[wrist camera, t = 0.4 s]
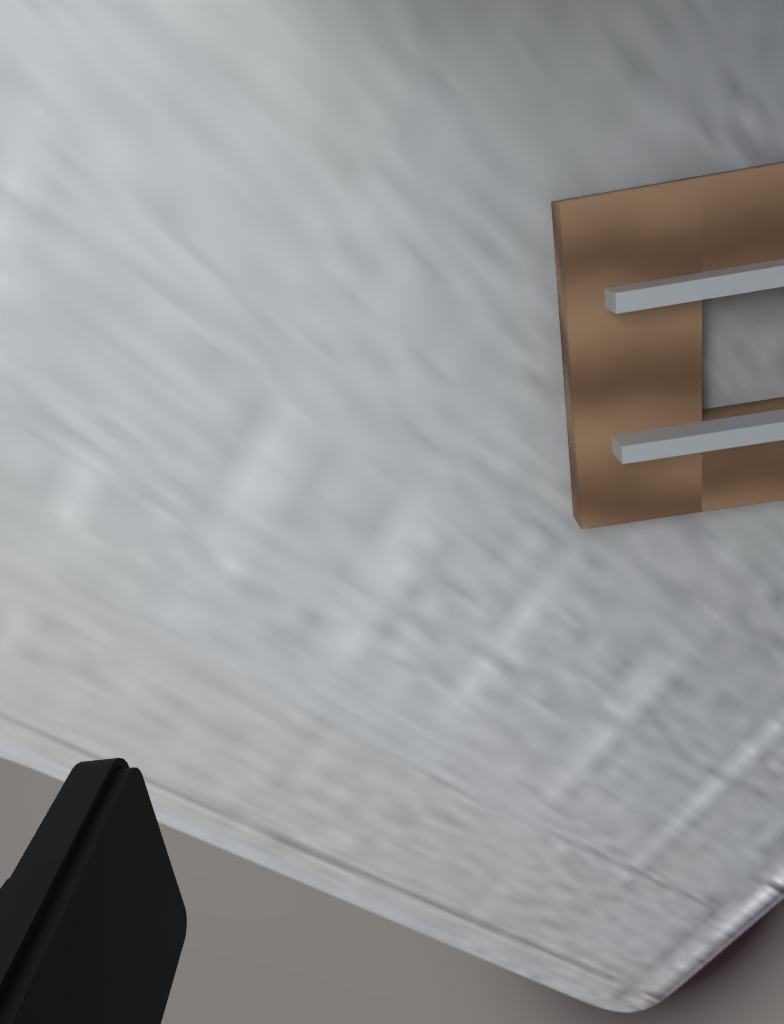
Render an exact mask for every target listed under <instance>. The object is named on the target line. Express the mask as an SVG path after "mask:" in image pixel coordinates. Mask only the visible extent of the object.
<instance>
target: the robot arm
mask: <svg viewBox="0 0 784 1024" xmlns="http://www.w3.org/2000/svg"><path fill="white" fill-rule="evenodd" d="M186 927H187V917H186V910H185V906H184V903H183V900H182V897H181V894H180V890H179V887H178V884H177V881H176V878H175V875H174V872H173V869H172V866H171V862H170V859H169V856H168V853H167V850H166V847H165V844H164V841H163V838H162V835H161V832H160V828H159V825H158V822H157V819H156V816H155V813H154V810H153V807H152V804H151V801H150V797H149V794H148V791H147V788H146V785H145V782H144V779H143V776H142V774H141V771H140V770H139V769H138V768H135V767H134V768H129V766H128V763H127V762H126V761H125V760H124V759H122V758H114V759H104V760H95V761H85V762H80V763H78V764H76V765H75V767H74V768H73V769H72V771H71V772H70V774H69V776H68V777H67V779H66V781H65V783H64V784H63V786H62V788H61V790H60V791H59V793H58V795H57V797H56V798H55V800H54V802H53V804H52V805H51V807H50V809H49V811H48V813H47V814H46V816H45V818H44V819H43V821H42V823H41V825H40V826H39V828H38V830H37V832H36V833H35V835H34V837H33V839H32V840H31V842H30V844H29V846H28V847H27V849H26V851H25V853H24V854H23V856H22V858H21V859H20V861H19V863H18V865H17V866H16V868H15V870H14V872H13V873H12V875H11V877H10V878H9V879H7V880H6V882H5V883H4V884H3V886H2V887H1V888H0V1024H161V1021H162V1017H163V1014H164V1010H165V1007H166V1004H167V1000H168V997H169V993H170V989H171V986H172V983H173V979H174V975H175V972H176V968H177V965H178V961H179V957H180V954H181V951H182V947H183V944H184V940H185V935H186Z"/></svg>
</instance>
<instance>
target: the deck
mask: <svg viewBox="0 0 784 1024" xmlns="http://www.w3.org/2000/svg"><path fill="white" fill-rule="evenodd" d="M551 205H552V219H553V233H554V247H555V261H556V275H557V290H558V304H559V318H560V332H561V346H562V360H563V374H564V388H565V402H566V416H567V431H568V445H569V459H570V473H571V487H572V501H573V515H574V518H575V519H576V521H577V523H578V524H579V526H580V528H581V529H587V528H594V527H601V526H608V525H615V524H621V523H628V522H635V521H642V520H649V519H655V518H662V517H669V516H676V515H683V514H689V513H696V512H703V511H710V510H717V509H723V508H730V507H737V506H744V505H751V504H758V503H764V502H771V501H778V500H784V440H779V441H772V442H765V443H759V444H752V445H746V446H739V447H732V448H726V449H719V450H713V451H706V452H699V453H693V454H686V455H680V456H673V457H666V458H660V459H653V460H647V461H640V462H633V463H627V464H622V463H621V462H620V461H619V460H618V458H617V457H616V456H615V455H614V454H613V453H612V439H611V436H612V435H618V434H625V433H631V432H638V431H644V430H651V429H657V428H664V427H670V426H677V425H683V424H690V423H696V422H703V421H709V420H716V419H722V418H729V417H735V416H742V415H748V414H755V413H761V412H768V411H774V410H781V409H784V397H782V398H775V399H769V400H762V401H756V402H750V403H743V404H737V405H730V406H724V407H717V408H711V409H704V410H702V300H698V301H692V302H686V303H680V304H674V305H668V306H662V307H655V308H649V309H643V310H637V311H631V312H625V313H619V314H616V313H614V312H612V311H610V310H608V309H606V308H605V288H612V287H618V286H624V285H630V284H636V283H642V282H648V281H654V280H660V279H666V278H672V277H678V276H684V275H690V274H696V273H702V272H708V271H714V270H720V269H726V268H732V267H739V266H745V265H751V264H757V263H763V262H769V261H775V260H781V259H784V162H779V163H773V164H767V165H761V166H756V167H750V168H744V169H738V170H733V171H727V172H721V173H715V174H709V175H704V176H698V177H692V178H686V179H680V180H675V181H669V182H663V183H657V184H652V185H646V186H640V187H634V188H628V189H623V190H617V191H611V192H605V193H599V194H594V195H588V196H582V197H576V198H571V199H565V200H559V201H553V202H551Z"/></svg>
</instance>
